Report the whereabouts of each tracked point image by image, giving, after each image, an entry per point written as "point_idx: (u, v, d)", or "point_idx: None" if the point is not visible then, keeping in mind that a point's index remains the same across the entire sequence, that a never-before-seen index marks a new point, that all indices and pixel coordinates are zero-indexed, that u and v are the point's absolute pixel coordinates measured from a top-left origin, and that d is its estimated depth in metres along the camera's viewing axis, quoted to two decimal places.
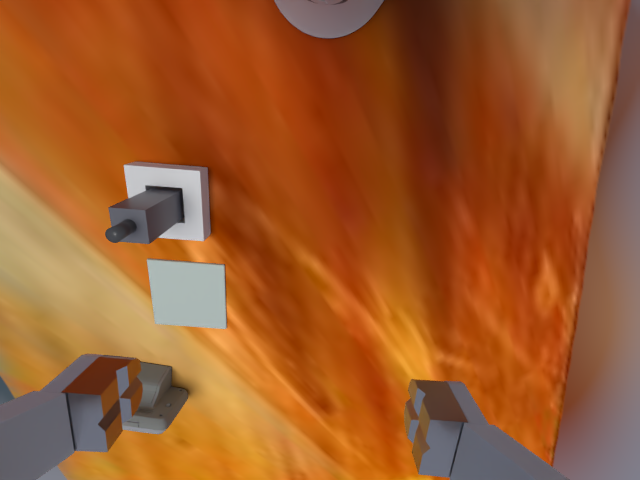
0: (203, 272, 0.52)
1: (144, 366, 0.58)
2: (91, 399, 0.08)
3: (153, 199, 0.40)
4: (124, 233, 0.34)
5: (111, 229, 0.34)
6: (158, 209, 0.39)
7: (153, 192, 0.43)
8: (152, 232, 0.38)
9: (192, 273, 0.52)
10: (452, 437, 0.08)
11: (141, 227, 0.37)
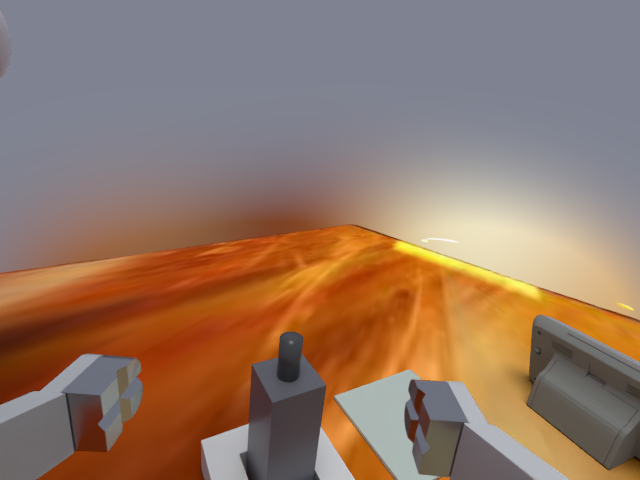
0: (361, 413, 0.36)
1: (565, 426, 0.36)
2: (92, 398, 0.08)
3: (254, 423, 0.24)
4: None
5: (283, 341, 0.22)
6: None
7: (259, 472, 0.24)
8: None
9: (374, 424, 0.34)
10: (452, 437, 0.08)
11: None
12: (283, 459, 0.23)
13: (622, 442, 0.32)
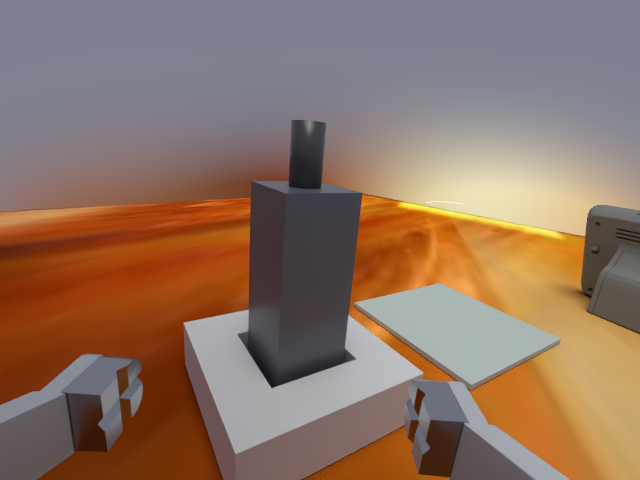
0: (391, 316, 0.28)
1: None
2: (92, 398, 0.08)
3: (258, 269, 0.17)
4: None
5: None
6: None
7: (267, 337, 0.16)
8: None
9: (409, 324, 0.27)
10: (452, 437, 0.08)
11: None
12: (303, 307, 0.16)
13: None
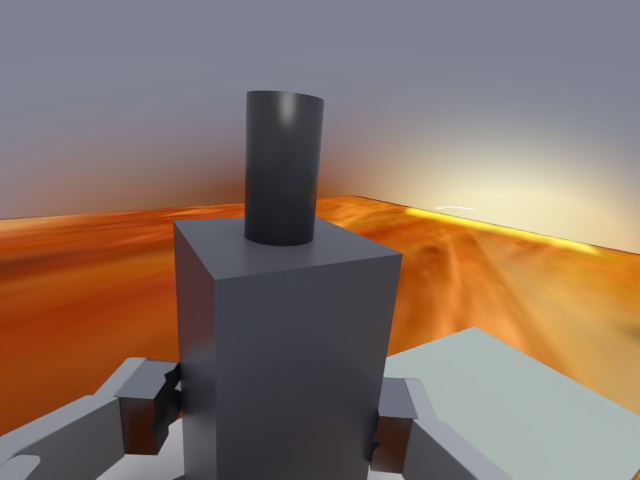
0: None
1: None
2: (144, 403, 0.08)
3: (188, 395, 0.08)
4: None
5: None
6: None
7: None
8: None
9: (446, 408, 0.19)
10: (402, 433, 0.08)
11: None
12: None
13: None
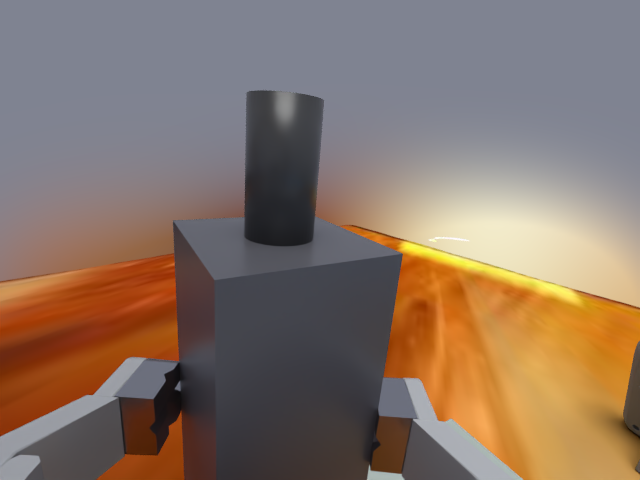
0: None
1: None
2: (144, 402, 0.08)
3: (187, 395, 0.08)
4: None
5: None
6: None
7: None
8: None
9: None
10: (402, 433, 0.08)
11: None
12: None
13: None
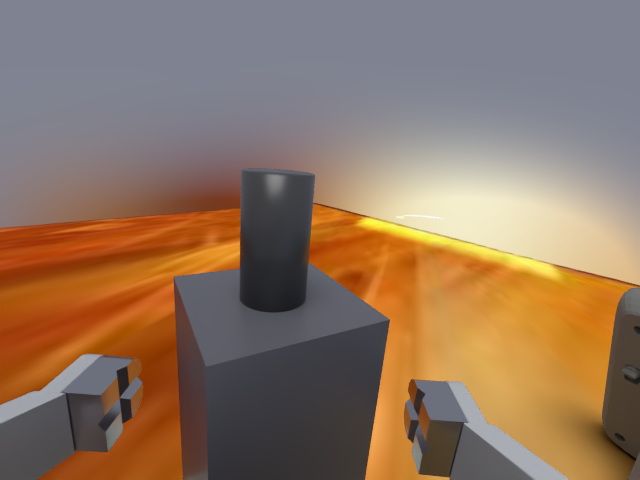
0: None
1: None
2: (91, 399, 0.08)
3: (186, 442, 0.09)
4: None
5: (250, 172, 0.07)
6: None
7: None
8: None
9: None
10: (452, 437, 0.08)
11: None
12: None
13: None
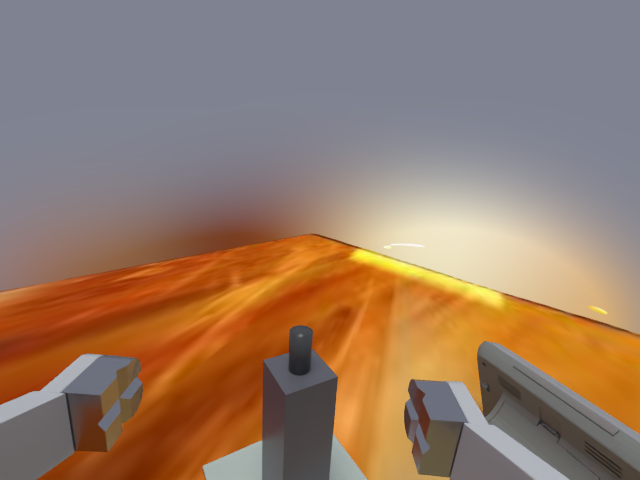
0: None
1: None
2: (91, 399, 0.08)
3: (268, 419, 0.24)
4: None
5: (293, 334, 0.23)
6: None
7: (275, 468, 0.24)
8: None
9: None
10: (452, 437, 0.08)
11: None
12: (299, 453, 0.23)
13: None
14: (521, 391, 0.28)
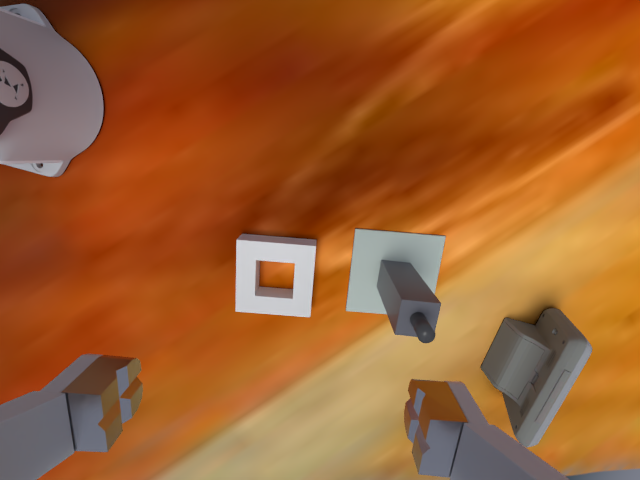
0: (363, 253, 0.44)
1: (495, 346, 0.47)
2: (91, 399, 0.08)
3: (390, 292, 0.37)
4: (425, 324, 0.31)
5: (419, 335, 0.31)
6: (402, 288, 0.36)
7: (384, 292, 0.41)
8: (428, 298, 0.34)
9: (364, 266, 0.45)
10: (452, 437, 0.08)
11: (420, 307, 0.33)
12: None
13: (492, 383, 0.46)
14: (548, 370, 0.39)
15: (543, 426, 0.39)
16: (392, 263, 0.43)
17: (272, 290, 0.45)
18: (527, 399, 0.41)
